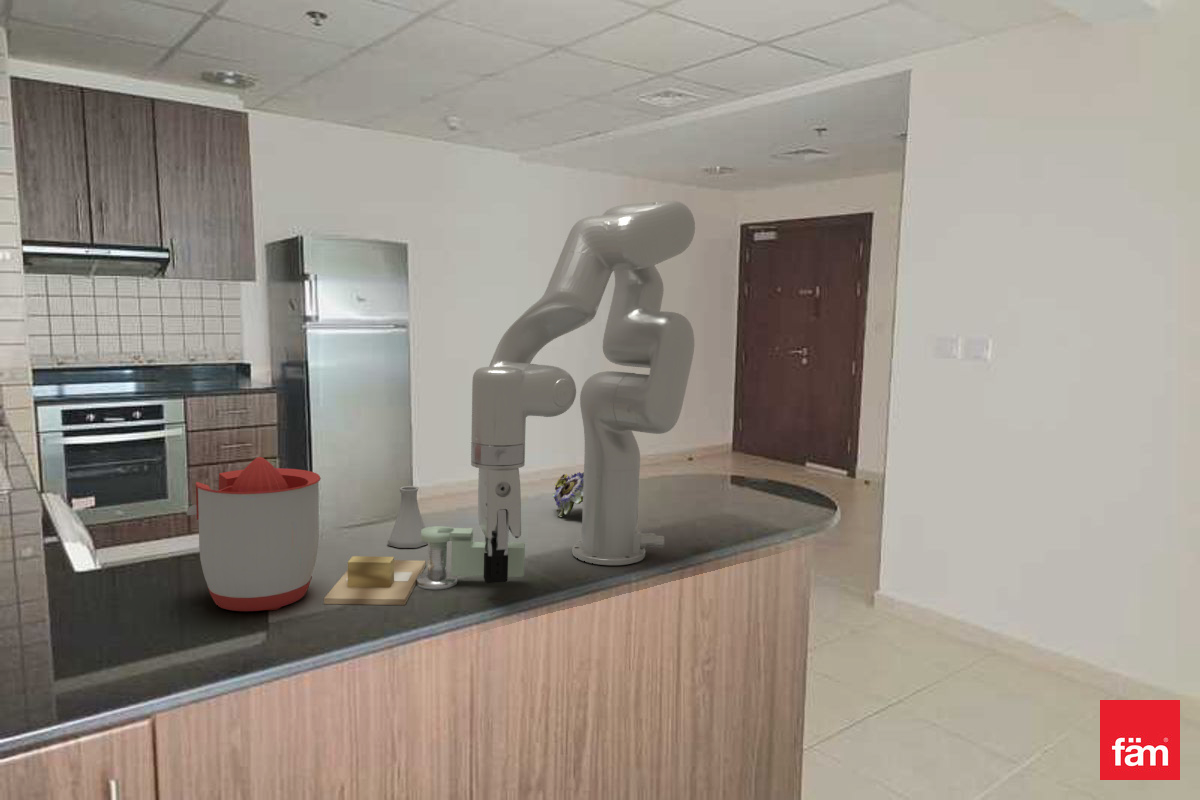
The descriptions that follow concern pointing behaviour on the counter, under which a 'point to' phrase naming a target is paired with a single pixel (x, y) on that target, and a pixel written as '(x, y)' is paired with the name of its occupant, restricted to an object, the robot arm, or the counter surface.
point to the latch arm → (472, 551)
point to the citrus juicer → (258, 535)
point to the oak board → (378, 592)
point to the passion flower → (568, 492)
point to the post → (437, 569)
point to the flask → (408, 521)
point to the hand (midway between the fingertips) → (495, 580)
